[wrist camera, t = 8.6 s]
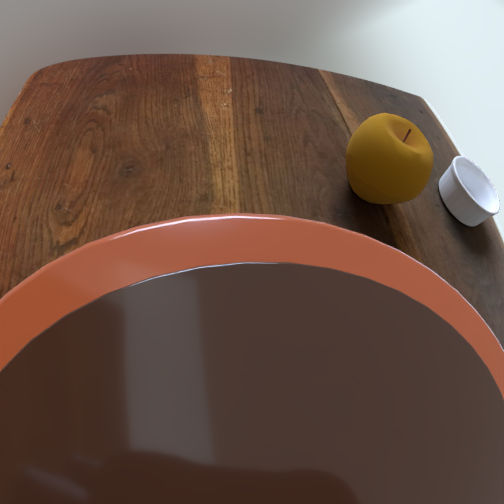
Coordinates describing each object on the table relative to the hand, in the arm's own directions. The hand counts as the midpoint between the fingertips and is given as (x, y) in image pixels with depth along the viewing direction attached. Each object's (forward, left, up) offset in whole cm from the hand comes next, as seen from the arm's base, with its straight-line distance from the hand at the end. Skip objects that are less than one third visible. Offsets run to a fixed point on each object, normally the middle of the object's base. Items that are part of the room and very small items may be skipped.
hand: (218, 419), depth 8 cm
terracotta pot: (-1, 0, -6) cm, 6 cm away
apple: (+23, -12, -13) cm, 29 cm away
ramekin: (+27, -27, -13) cm, 40 cm away
